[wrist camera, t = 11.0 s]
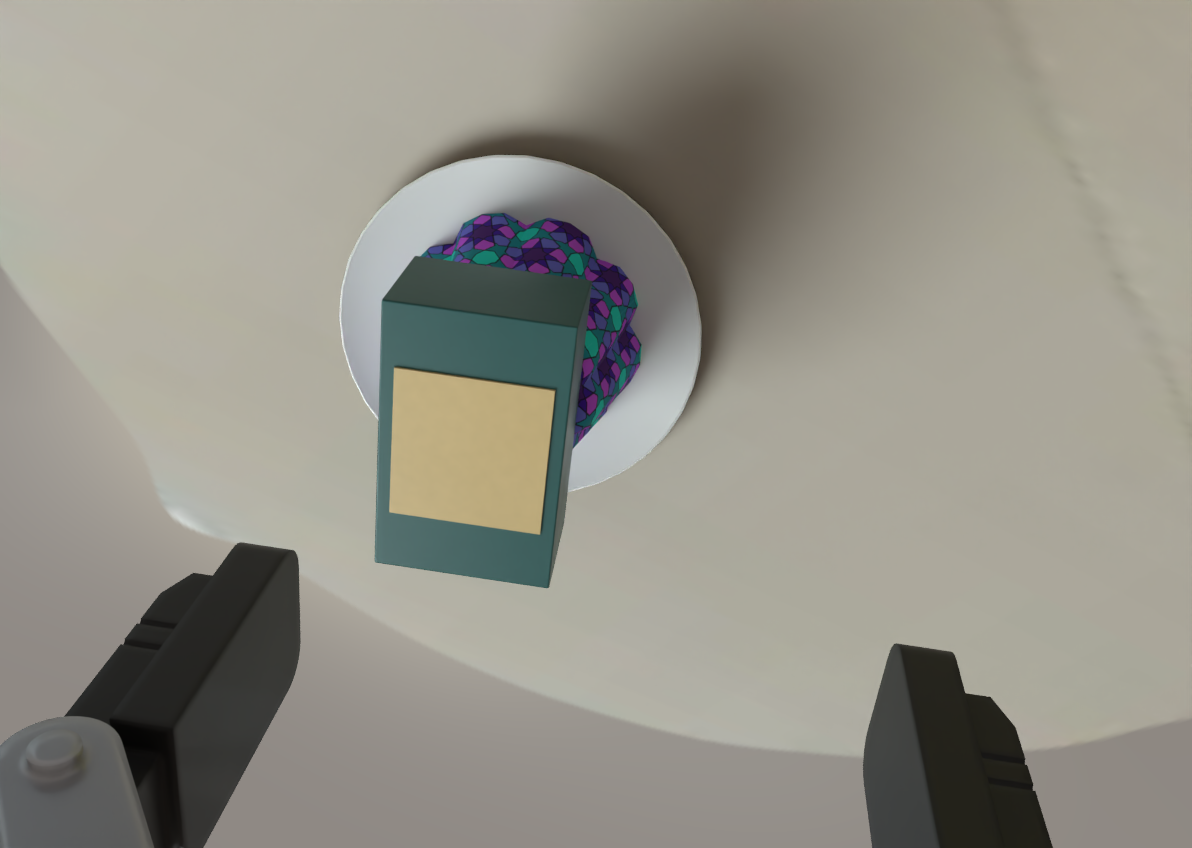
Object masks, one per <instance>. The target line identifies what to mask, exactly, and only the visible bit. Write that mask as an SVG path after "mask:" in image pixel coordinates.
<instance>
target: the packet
mask: <svg viewBox="0 0 1192 848" xmlns="http://www.w3.org/2000/svg"><path fill="white" fill-rule="evenodd" d="M591 287H592V281H591V280H584V279H577V278H570V277H563V276H556V275H549V274H542V273H534V272H527V271H520V270H513V269H506V268H499V267H492V266H485V265H477V264H470V263H463V262H456V261H449V260H442V259H435V258H428V257H420V256H414V258H413V259H412V260H411V262H410V263H409V264H408V266H407V267H406V268H405V270H404V271H403V272H402V274H401V275H400V276H399V278H398V279H397V280H396V282H395V283H394V284H393V286H392V287H391V288H390V290H389V291H388V292H387V294H386V295H385V296H384V298H383V299H382V304H381V341H380V379H379V417H378V455H377V493H376V531H375V562H376V563H383V564H390V565H396V566H403V567H410V568H416V569H423V570H430V571H436V572H443V573H450V574H456V575H463V576H470V577H476V578H483V579H489V580H496V581H503V582H509V583H516V584H523V585H529V586H536V587H543V588H549V585H550V581H551V577H552V572H553V568H554V564H555V559H556V555H557V551H558V546H559V542H560V538H561V533H562V529H563V525H564V518H565V510H566V501H567V492H568V484H569V475H570V467H571V458H572V449H573V441H574V432H575V424H576V415H577V407H578V398H579V389H580V381H581V372H582V364H583V355H584V347H585V338H586V329H587V321H588V312H589V304H590V295H591Z"/></svg>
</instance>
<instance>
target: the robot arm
mask: <svg viewBox="0 0 1192 848" xmlns="http://www.w3.org/2000/svg"><path fill="white" fill-rule="evenodd" d="M299 652H300V603H299V565H298V557H297V554H296V552H295V551H294V550H288V549H281V548H274V547H268V546H261V545H255V544H248V543H241V542H240V543H238V544H237V545H235V547H234V548H233V549H232V550H231V552H230V553H229V554H228V556H227V557H226V559H225V560H224V561H223V563H222V564H221V565H220V567H219V568H218V569H217V571H216V572H215V574H214V575H213V576H210V575H204V574H197V573H193V574H191V575H190V576H188V577H186V578H185V579H183V580H181V581H180V582H178V583H176V584H175V585H173V586H172V587H170V588H168V589H167V590H165V591H163V592H162V593H161V594H160V595H159V596H158V598H157V599H156V600H155V601H154V603H153V604H152V605H151V606H150V608H149V609H148V610H147V612H146V613H145V614H144V616H143V617H142V618H141V622H140V624H136V626H135V627H134V628H133V629H132V631H131V632H130V633H129V634H128V636H127V637H126V638H125V642H124V645H120V646H119V647H118V649H117V650H116V651H115V652H114V654H113V655H112V656H111V657H110V659H109V660H108V661H107V663H106V664H105V665H104V667H103V668H102V669H101V670H100V672H99V673H98V674H97V675H96V677H95V678H94V679H93V681H92V682H91V683H90V685H89V686H88V687H87V688H86V689H85V691H84V692H83V693H82V695H81V696H80V697H79V698H78V700H77V701H76V702H75V704H74V705H73V706H72V707H71V709H70V710H69V711H68V712H67V714H66V715H65V716H64V717H58V718H53V719H48V720H45V721H41V722H38V723H35V724H33V725H31V726H28V727H26V728H24V729H22V730H20V731H19V732H17V733H15V734H14V735H12V736H11V737H10V738H8V739H7V740H6V741H5V742H4V743H2V744H1V745H0V848H203V847H204V845H205V843H206V842H207V839H208V838H209V836H210V834H211V832H212V831H213V829H214V827H215V825H216V823H217V821H218V819H219V818H220V816H221V814H222V812H223V810H224V808H225V806H226V805H227V803H228V801H229V799H230V797H231V795H232V794H233V792H234V790H235V788H236V786H237V784H238V782H239V781H240V779H241V777H242V775H243V773H244V771H245V769H246V768H247V766H248V764H249V762H250V760H251V758H252V757H253V755H254V753H255V751H256V749H257V747H258V745H259V743H260V742H261V740H262V738H263V736H264V734H265V732H266V730H267V729H268V727H269V725H270V723H271V721H272V720H273V718H274V716H275V714H276V712H277V710H278V708H279V707H280V705H281V703H282V701H283V699H284V697H285V695H286V694H287V692H288V690H289V688H290V686H291V683H292V681H293V678H294V675H295V671H296V668H297V664H298V659H299ZM863 777H864V787H865V795H866V802H867V810H868V818H869V825H870V833H871V841H872V848H1053V847H1052V844H1051V840H1050V838H1049V834H1048V831H1047V828H1046V824H1045V821H1044V818H1043V815H1042V812H1041V808H1040V805H1039V802H1038V799H1037V795H1036V792H1035V791H1033V789H1032V788H1033V782H1032V779H1031V776H1030V773H1029V770H1028V766H1027V765H1025V757H1024V753H1023V750H1022V747H1021V744H1020V741H1019V737H1018V734H1017V731H1016V728H1015V726H1014V725H1013V724H1012V723H1011V721H1010V720H1009V719H1008V718H1007V717H1006V715H1005V714H1004V713H1003V712H1002V711H1001V709H1000V708H999V707H998V706H997V704H996V703H995V702H994V701H993V700H992V698H991V697H986V696H979V695H973V694H966V693H965V691H964V687H963V683H962V680H961V676H960V672H959V668H958V664H957V661H956V658H955V655H954V654H953V653H952V652H949V651H942V650H936V649H929V648H922V647H916V646H909V645H903V644H894V645H893V647H892V648H891V650H890V653H889V656H888V659H887V663H886V666H885V670H884V674H883V677H882V681H881V685H880V688H879V692H878V695H877V699H876V703H875V706H874V710H873V713H872V717H871V721H870V724H869V728H868V732H867V736H866V742H865V749H864V762H863Z"/></svg>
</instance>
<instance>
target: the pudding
mask: <svg viewBox="0 0 1192 848" xmlns="http://www.w3.org/2000/svg"><path fill="white" fill-rule="evenodd" d="M414 256H420V257H428V258H435V259H442V260H449V261H456V262H463V263H470V264H477V265H485V266H492V267H499V268H506V269H513V270H520V271H527V272H534V273H542V274H549V275H556V276H563V277H570V278H577V279H584V280H591V281H592V287H591V295H590V304H589V312H588V321H587V329H586V338H585V347H584V355H583V364H582V372H581V381H580V389H579V398H578V407H577V415H576V424H575V432H574V441H573V449H572V458H571V467H570V475H569V484H568V492H571V491H574V490H578V489H581V488H585V487H589V486H592V485H596V484H598V483H601V482H603V481H605V480H607V479H609V478H611V477H613V476H616V475H618V474H620V473H622V472H624V471H625V470H627V469H628V468H629V467H631V466H632V465H634V464H635V463H637V462H638V461H639V460H641V459H642V458H644V457H645V456H647V455H648V454H649V453H650V452H651V451H652V450H653V449H654V448H655V447H656V446H657V445H658V444H659V443H660V442H661V441H662V440H663V439H664V438H665V437H666V435H667V434H668V433H669V431H670V430H671V428H672V427H673V425H674V424H675V422H676V421H677V419H678V418H679V417H680V415H681V414H682V412H683V410H684V408H685V405H686V403H687V401H688V398H689V396H690V394H691V392H692V389H693V387H694V384H695V380H696V375H697V371H698V366H699V362H700V358H701V331H702V326H701V320H700V313H699V307H698V301H697V296H696V293H695V290H694V287H693V284H692V281H691V279H690V276H689V273H688V270H687V267H686V265H685V264H684V262H683V260H682V258H681V257H680V255H679V253H678V251H677V250H676V248H675V246H674V244H673V243H672V241H671V239H670V238H669V237H668V235H667V234H666V233H665V232H664V231H663V229H662V228H661V227H660V226H659V225H658V224H657V222H656V221H655V220H654V219H653V218H652V216H651V215H650V214H649V213H648V212H647V211H646V210H645V209H643V208H642V207H641V206H640V205H639V204H637V203H636V202H635V201H634V200H633V199H631V198H630V197H629V196H628V195H627V194H626V193H624V192H623V191H622V190H620V189H618V188H616V187H615V186H613V185H611V184H610V183H608V182H606V181H605V180H603V179H601V178H599V177H598V176H596V175H594V174H592V173H590V172H587V171H584V170H582V169H579V168H576V167H574V166H571V165H568V164H566V163H563V162H559V161H554V160H549V159H544V158H538V157H533V156H528V155H490V156H484V157H478V158H472V159H466V160H460V161H458V162H455V163H452V164H449V165H447V166H444V167H441V168H438V169H436V170H433V171H430V172H428V173H427V174H425V175H423V176H422V177H420V178H418V179H417V180H415V181H413V182H412V183H410V184H408V185H407V186H405V187H403V188H402V189H401V190H400V191H399V192H398V193H396V194H395V195H394V196H393V197H392V198H391V199H390V200H389V201H388V202H386V203H385V204H384V205H383V206H382V207H381V208H380V209H379V210H378V211H377V213H376V214H375V215H374V217H373V218H372V219H371V221H370V222H369V223H368V225H367V226H366V227H365V229H364V230H363V231H362V233H361V235H360V237H359V239H358V241H357V243H356V245H355V247H354V249H353V251H352V254H351V256H350V258H349V260H348V264H347V268H346V272H345V275H344V279H343V283H342V287H341V299H340V314H339V319H340V328H341V336H342V344H343V349H344V352H345V356H346V359H347V362H348V365H349V369H350V372H351V375H352V377H353V379H354V381H355V383H356V385H357V387H358V389H359V391H360V393H361V395H362V397H363V399H364V401H365V403H366V404H367V405H368V407H369V408H370V410H371V411H372V412H373V414H374V415H375V416H376V418H377V419H378V417H379V379H380V341H381V304H382V299H383V298H384V296H385V295H386V294H387V292H388V291H389V290H390V288H391V287H392V286H393V284H394V283H395V282H396V280H397V279H398V278H399V276H400V275H401V274H402V272H403V271H404V270H405V268H406V267H407V266H408V264H409V263H410V262H411V260H412V259H413V258H414Z"/></svg>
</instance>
